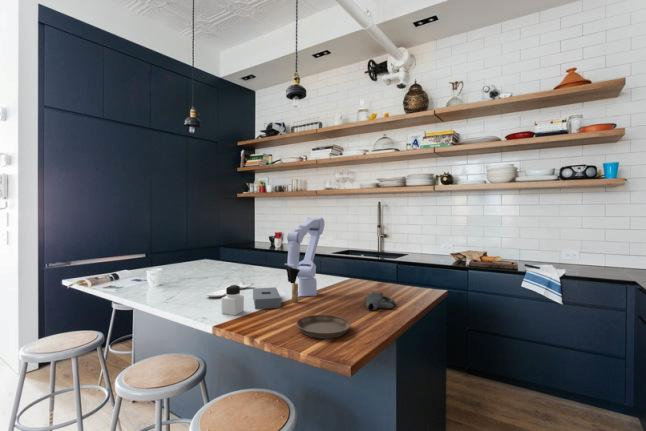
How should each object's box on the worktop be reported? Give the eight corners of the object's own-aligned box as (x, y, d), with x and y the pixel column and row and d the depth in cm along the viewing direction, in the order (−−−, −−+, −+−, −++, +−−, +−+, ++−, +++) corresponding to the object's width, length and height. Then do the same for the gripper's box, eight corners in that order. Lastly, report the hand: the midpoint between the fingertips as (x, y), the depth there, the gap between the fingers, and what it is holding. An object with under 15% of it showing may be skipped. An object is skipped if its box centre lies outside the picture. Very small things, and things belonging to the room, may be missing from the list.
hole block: (275, 295, 182) (275, 287, 182) (280, 307, 161) (281, 297, 161) (252, 296, 179) (252, 288, 179) (255, 309, 158) (255, 299, 158)
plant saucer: (346, 322, 142) (346, 314, 141) (353, 341, 121) (353, 332, 121) (297, 322, 141) (297, 314, 141) (295, 341, 120) (295, 332, 120)
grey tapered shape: (361, 299, 157) (394, 306, 153) (369, 286, 181) (398, 292, 177) (360, 310, 157) (393, 317, 153) (368, 296, 181) (396, 301, 177)
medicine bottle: (244, 311, 155) (244, 284, 154) (235, 315, 148) (235, 288, 148) (230, 309, 157) (230, 283, 157) (221, 313, 150) (221, 286, 150)
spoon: (254, 287, 201) (254, 282, 201) (214, 300, 173) (214, 293, 172) (242, 286, 205) (242, 280, 205) (202, 298, 177) (202, 291, 177)
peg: (297, 300, 172) (297, 283, 172) (298, 302, 169) (298, 284, 169) (291, 301, 172) (291, 283, 171) (292, 302, 169) (292, 284, 168)
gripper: (283, 254, 178) (281, 280, 176) (287, 254, 164) (285, 283, 162) (297, 255, 179) (295, 281, 178) (302, 255, 165) (300, 284, 164)
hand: (291, 282), depth 170 cm, fingers open, 7 cm apart
